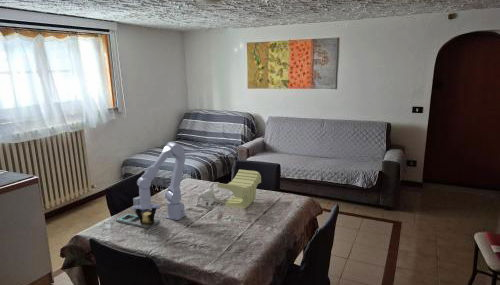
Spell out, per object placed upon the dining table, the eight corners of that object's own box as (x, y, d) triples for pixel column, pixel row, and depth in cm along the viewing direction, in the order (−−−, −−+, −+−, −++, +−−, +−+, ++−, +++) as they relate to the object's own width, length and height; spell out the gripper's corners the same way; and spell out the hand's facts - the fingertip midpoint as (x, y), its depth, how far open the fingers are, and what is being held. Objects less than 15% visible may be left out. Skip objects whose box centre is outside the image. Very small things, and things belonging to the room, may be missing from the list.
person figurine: (207, 192, 206) (218, 179, 221) (189, 195, 210) (201, 181, 226) (214, 211, 209) (224, 196, 225) (196, 212, 214) (207, 198, 230)
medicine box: (138, 213, 205) (137, 199, 203) (133, 211, 207) (132, 198, 205) (149, 208, 211) (148, 195, 209) (144, 207, 213) (143, 194, 212)
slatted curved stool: (242, 214, 199) (241, 186, 195) (218, 210, 205) (217, 183, 202) (261, 197, 226) (260, 171, 222) (239, 194, 232) (239, 169, 228)
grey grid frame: (159, 222, 192) (159, 219, 191) (149, 228, 184) (148, 226, 183) (127, 215, 201) (127, 213, 201) (116, 221, 193) (116, 219, 193)
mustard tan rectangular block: (153, 223, 191) (152, 213, 189) (147, 226, 187) (147, 216, 186) (147, 221, 192) (146, 211, 191) (142, 224, 189) (141, 214, 187)
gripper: (159, 195, 191) (161, 217, 194) (133, 196, 190) (135, 218, 193) (157, 199, 184) (159, 222, 187) (130, 201, 183) (132, 224, 186)
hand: (147, 221), depth 189 cm, fingers closed on mustard tan rectangular block, 6 cm apart
